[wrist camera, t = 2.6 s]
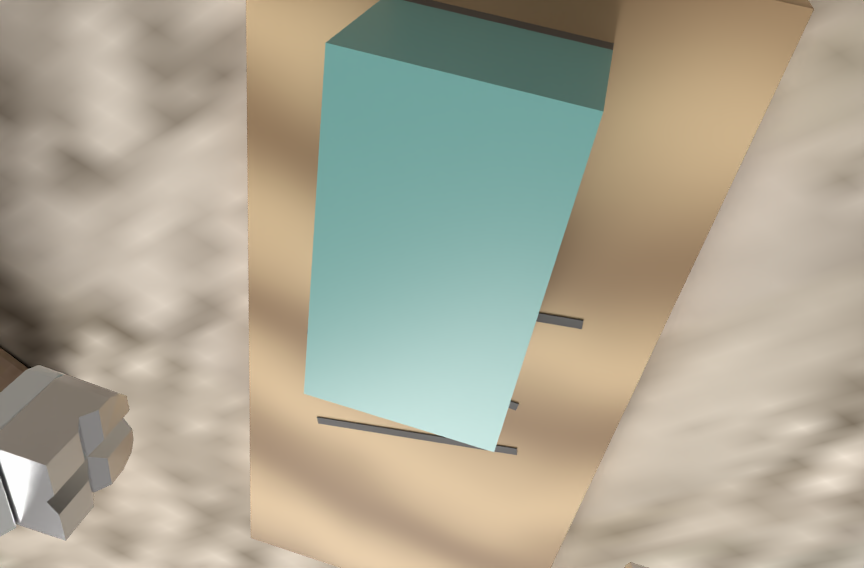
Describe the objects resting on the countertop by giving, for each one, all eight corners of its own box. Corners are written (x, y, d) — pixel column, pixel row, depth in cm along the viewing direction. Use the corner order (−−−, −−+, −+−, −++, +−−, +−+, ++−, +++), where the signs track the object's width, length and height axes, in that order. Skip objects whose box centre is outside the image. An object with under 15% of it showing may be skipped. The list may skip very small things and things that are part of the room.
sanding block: (391, -10, 16) (325, 42, 12) (614, 43, 15) (602, 111, 12) (356, 302, 21) (303, 393, 18) (518, 349, 20) (493, 452, 17)
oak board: (274, -126, 16) (244, -119, 15) (801, -9, 15) (814, 9, 14) (265, 509, 31) (250, 538, 30) (527, 595, 30) (521, 629, 29)
